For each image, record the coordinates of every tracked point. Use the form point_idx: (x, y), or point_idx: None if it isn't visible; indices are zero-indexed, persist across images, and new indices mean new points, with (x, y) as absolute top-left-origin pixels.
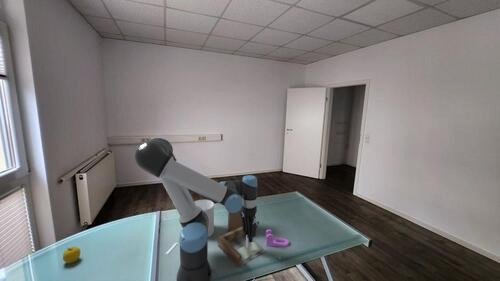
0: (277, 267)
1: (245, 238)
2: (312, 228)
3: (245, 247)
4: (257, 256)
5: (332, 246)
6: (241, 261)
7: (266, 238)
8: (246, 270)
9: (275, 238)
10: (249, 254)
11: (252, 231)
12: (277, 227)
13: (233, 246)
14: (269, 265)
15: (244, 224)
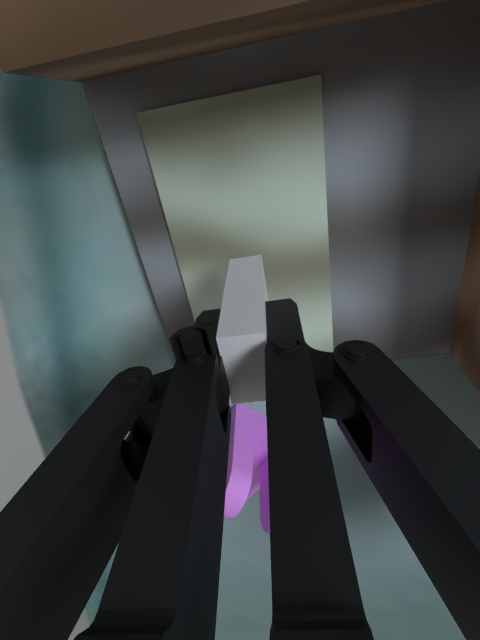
0: (13, 357)
1: (419, 317)
2: (240, 616)
3: (303, 255)
4: (154, 294)
5: (96, 598)
6: (56, 78)
7: (252, 454)
8: (24, 111)
9: (257, 484)
10: (196, 243)
11: (25, 503)
12: (359, 534)
13: (403, 139)
14: (42, 323)
15: (415, 491)
